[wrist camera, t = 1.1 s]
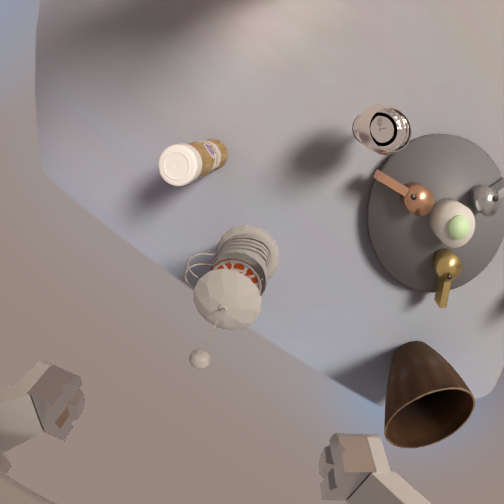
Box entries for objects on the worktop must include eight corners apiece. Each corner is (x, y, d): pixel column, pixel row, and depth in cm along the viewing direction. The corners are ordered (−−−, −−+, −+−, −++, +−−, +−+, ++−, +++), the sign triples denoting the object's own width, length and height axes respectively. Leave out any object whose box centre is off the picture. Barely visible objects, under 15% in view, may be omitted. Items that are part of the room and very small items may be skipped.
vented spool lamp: (268, 292, 51) (236, 414, 28) (200, 268, 51) (126, 371, 29) (288, 237, 47) (268, 344, 24) (214, 212, 47) (132, 293, 25)
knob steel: (474, 215, 38) (484, 222, 35) (465, 192, 37) (475, 197, 34) (512, 189, 35) (523, 194, 32) (504, 165, 34) (515, 169, 32)
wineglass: (366, 157, 41) (386, 168, 30) (339, 125, 40) (351, 123, 29) (396, 133, 39) (426, 136, 28) (370, 100, 38) (392, 91, 27)
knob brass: (433, 248, 41) (440, 257, 38) (455, 247, 41) (464, 256, 38) (426, 299, 44) (432, 310, 41) (447, 297, 44) (454, 308, 41)
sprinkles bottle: (234, 152, 44) (205, 163, 31) (214, 176, 45) (179, 195, 33) (210, 132, 43) (173, 135, 31) (191, 156, 45) (149, 168, 32)
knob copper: (431, 191, 38) (439, 196, 36) (417, 215, 40) (424, 222, 37) (381, 159, 38) (387, 162, 35) (367, 185, 40) (372, 190, 37)
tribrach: (412, 101, 36) (429, 97, 30) (522, 189, 37) (545, 199, 31) (336, 244, 46) (340, 263, 40) (451, 307, 46) (465, 329, 40)
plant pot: (446, 372, 52) (468, 432, 37) (377, 392, 56) (386, 457, 41) (446, 314, 47) (480, 374, 32) (368, 337, 51) (381, 405, 37)
